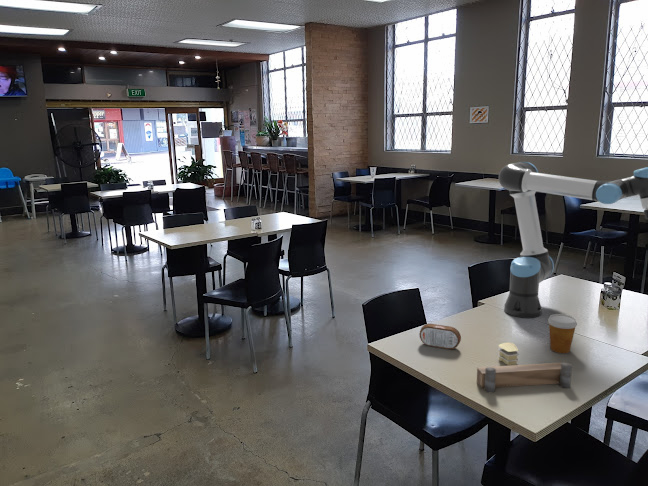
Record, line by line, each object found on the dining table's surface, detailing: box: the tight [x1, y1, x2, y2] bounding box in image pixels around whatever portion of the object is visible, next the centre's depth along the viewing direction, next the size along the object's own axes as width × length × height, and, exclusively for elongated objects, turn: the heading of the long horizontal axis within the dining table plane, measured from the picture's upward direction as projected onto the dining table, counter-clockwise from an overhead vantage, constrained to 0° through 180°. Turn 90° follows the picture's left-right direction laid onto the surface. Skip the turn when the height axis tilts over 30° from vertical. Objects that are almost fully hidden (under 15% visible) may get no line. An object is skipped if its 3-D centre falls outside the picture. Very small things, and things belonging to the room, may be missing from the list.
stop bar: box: [476, 361, 573, 394], centre depth 154 cm, size 7×28×7 cm, turn 94°
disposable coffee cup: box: [547, 313, 578, 354], centre depth 177 cm, size 10×10×12 cm
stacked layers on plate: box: [497, 342, 519, 366], centre depth 171 cm, size 10×9×6 cm
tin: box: [418, 323, 462, 350], centre depth 183 cm, size 15×3×8 cm, turn 65°
